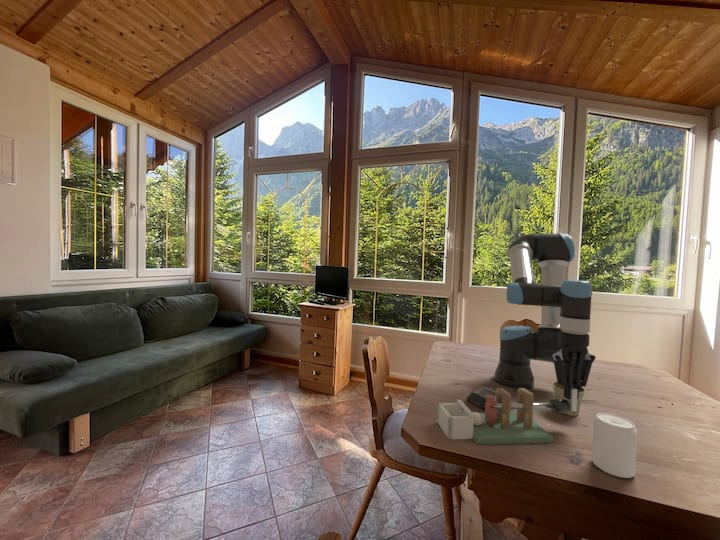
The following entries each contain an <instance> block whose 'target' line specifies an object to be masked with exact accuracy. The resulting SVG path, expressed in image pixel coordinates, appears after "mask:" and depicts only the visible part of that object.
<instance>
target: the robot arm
mask: <svg viewBox="0 0 720 540" xmlns="http://www.w3.org/2000/svg"><path fill="white" fill-rule="evenodd" d="M575 255H576V254H575V243H574V240H573V237H572V236H571V235H570V234H569V233H559V232H557V233H528V234H524V235H521V236H519V237H517V238H516V239H515V240H513V242H511V244H509V246H508V249H507V259H508V260H509V261H510V274H511V282H508V283H507V284H506V293H505V294H506V302H507V303H508V304H513V305H517V306H519V305H520V306H521V305H522V306H535V307H536V306H537V307H538V306H539V307H541V312H540V313H541V315H540V316H541V317H540V318H541V323H540V324H538V326H537V327H536V331H535V330H533V329H532V327H530V326H528V325H527V326H525V325H509V326H505V327H502V328H501V330H500V337H499V340H500V341H499V361H498V364H497V365H496V368H495V371H494V377H493V378H495V379H494V380H495V382H497V383H499V384H500V383H501V385H503V386H506V387H509V388H515V389H518V388H525V389H526V390H529V389H532V388H534V387H535V377H534V374H533V371H532V368H531V360H534V361H540V362H547V363H553V366H554V370H555V375H556V381H557V382H558V384H560V385H562V386H564V397H565V399H566V400H567V401H568V402H569V404H570V410H571V411H576V409H577V399H578V398H579V390H582V389H583V388H585V387H587V384H588V380H589V376H590V374H591V373H590V372H591V368H592V366H593V363H594V361H595V360H596V355H594V354H591V353H590V352H589V350H588V347H589V346H590V337H591V335H590V334H589V333H590V332H591V310H592V297H593V291H592V289H593V287H592V283H591V282H590V281H588V280H579V279H578V280H574V279H566V268H568V266H570V265H571V263H570V262H572V261H574V259H575ZM532 261H537V266H538V267H539V268H541V283H536V279H535V274H534V269H533V264H532V263H533V262H532ZM581 387H583V388H581Z"/></svg>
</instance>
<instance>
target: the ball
mask: <svg viewBox="0 0 720 540" xmlns="http://www.w3.org/2000/svg"><path fill="white" fill-rule="evenodd" d="M472 413H473V414H474V417H473V418H474V422H473V425H476V426H479V425H481V424H482V422H483V418H482V416H481V415H480V414H479V413H480V412H477V411H473V412H472Z"/></svg>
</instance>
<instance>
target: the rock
mask: <svg viewBox="0 0 720 540" xmlns="http://www.w3.org/2000/svg"><path fill="white" fill-rule="evenodd" d="M487 395H492V396H494V397H495V401H496V390H494V389H492V388H490V387H486V386H480V385H479V386H478V387H477V388H476V389H474V390H473V391H471V393H470V394H469V395H468V396H467V397H466V400H467V401H469V402H470V403H472V404H474V405H476V406H478V407H481V408H482V409H485V403H487V402H486V401H487Z"/></svg>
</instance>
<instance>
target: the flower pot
mask: <svg viewBox="0 0 720 540" xmlns="http://www.w3.org/2000/svg"><path fill="white" fill-rule="evenodd" d="M551 385H552V387H553V390H554V396H555V398H554V399H565V397H564V386H562V385H560V384H558V382H557V380H555V381H553V382H552V383H551ZM581 388H583V389H582V390H579V398H578V399H577V409H576V411H571V410H570V411H569V412H560V413H561V414H562V415H563V414H565V415H567V416H569V417H577V416H579V414H580V409H581V405H582V400H583V397H584V395H585V393H586V392H587V390H586V388H585V387H583V386H582V387H581Z"/></svg>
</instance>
